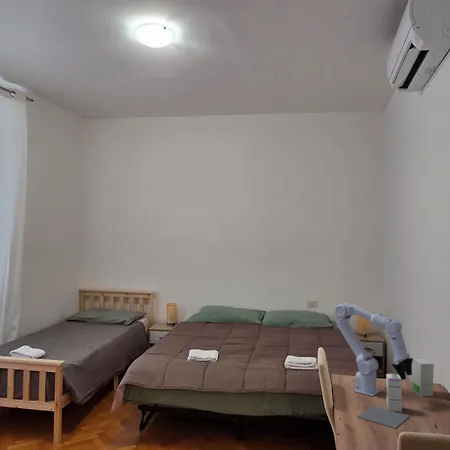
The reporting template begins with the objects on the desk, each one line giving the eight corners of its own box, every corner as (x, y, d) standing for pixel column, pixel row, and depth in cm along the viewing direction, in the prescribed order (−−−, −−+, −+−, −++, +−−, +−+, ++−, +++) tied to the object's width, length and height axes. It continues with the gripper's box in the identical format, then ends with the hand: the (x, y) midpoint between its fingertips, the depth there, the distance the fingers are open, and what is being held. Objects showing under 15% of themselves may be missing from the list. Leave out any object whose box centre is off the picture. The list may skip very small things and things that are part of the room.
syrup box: (402, 412, 195) (402, 378, 195) (387, 411, 196) (387, 377, 196) (400, 407, 200) (399, 374, 200) (385, 406, 201) (385, 373, 202)
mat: (357, 417, 189) (357, 416, 189) (372, 406, 200) (372, 406, 200) (395, 428, 179) (395, 427, 179) (409, 416, 190) (409, 415, 190)
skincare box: (411, 390, 221) (411, 358, 221) (424, 389, 222) (424, 358, 222) (420, 396, 213) (420, 363, 213) (434, 396, 213) (434, 363, 213)
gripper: (401, 349, 201) (409, 380, 198) (412, 343, 212) (420, 372, 209) (386, 350, 205) (393, 381, 203) (398, 344, 216) (405, 373, 214)
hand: (406, 377), depth 206 cm, fingers open, 7 cm apart
